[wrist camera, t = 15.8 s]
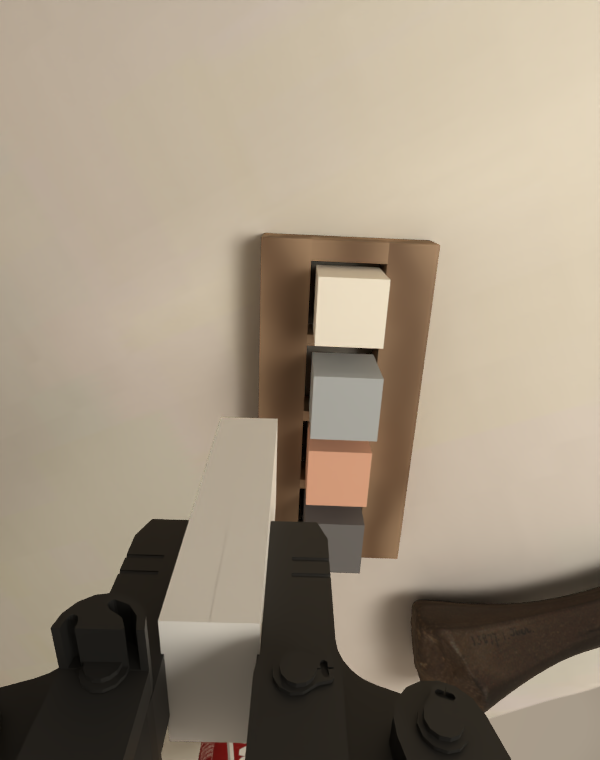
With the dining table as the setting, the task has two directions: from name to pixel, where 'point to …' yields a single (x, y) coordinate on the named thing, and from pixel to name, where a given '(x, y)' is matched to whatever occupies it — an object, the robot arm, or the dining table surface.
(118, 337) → the dining table surface
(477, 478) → the dining table surface
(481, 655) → the dark brown bone
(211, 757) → the soda can
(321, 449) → the key terracotta
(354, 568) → the dark gray block
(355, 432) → the light grey block
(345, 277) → the key ivory
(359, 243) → the wooden block tray
